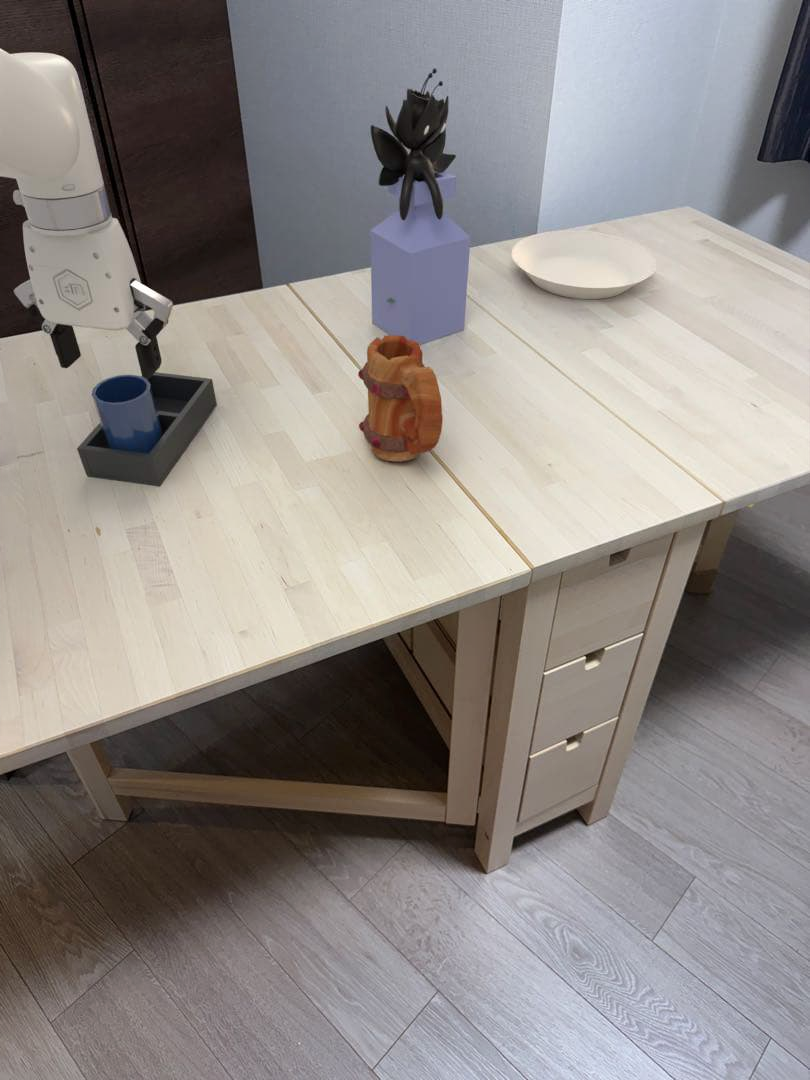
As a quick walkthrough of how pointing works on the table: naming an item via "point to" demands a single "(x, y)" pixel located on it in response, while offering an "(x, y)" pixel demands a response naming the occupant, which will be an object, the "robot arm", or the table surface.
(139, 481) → the holder
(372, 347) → the mug
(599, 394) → the table surface
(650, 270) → the bowl
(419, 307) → the vase
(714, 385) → the table surface
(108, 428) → the cup
